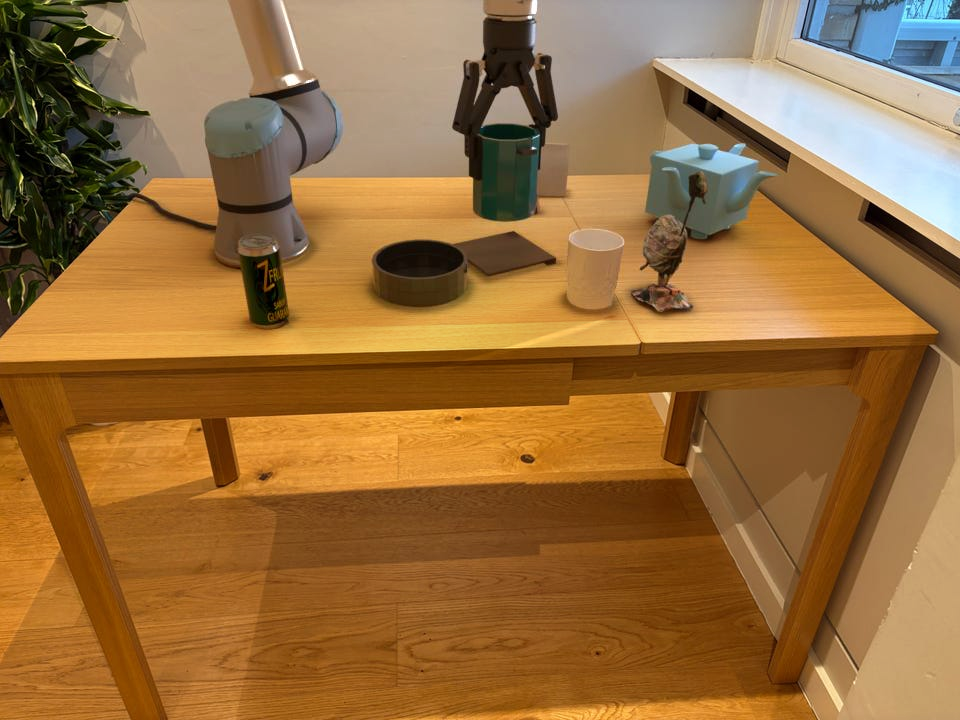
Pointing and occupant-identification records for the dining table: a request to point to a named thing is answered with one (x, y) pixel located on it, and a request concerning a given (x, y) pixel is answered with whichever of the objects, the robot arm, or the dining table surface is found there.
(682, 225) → the brown figurine
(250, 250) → the green soda can
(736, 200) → the teakettle
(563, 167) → the white upright block
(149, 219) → the dining table surface
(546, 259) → the trivet
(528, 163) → the pot
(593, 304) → the white cup
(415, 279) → the pan
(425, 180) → the dining table surface
